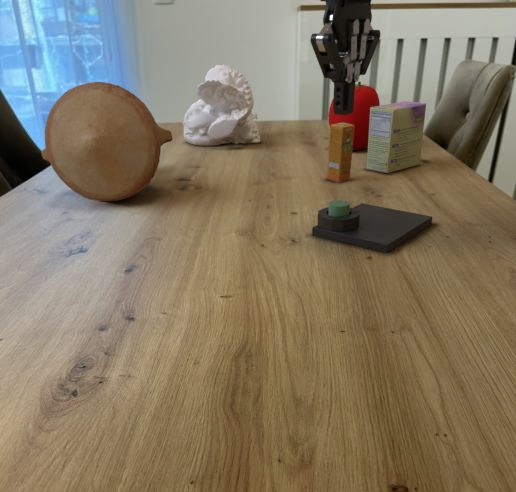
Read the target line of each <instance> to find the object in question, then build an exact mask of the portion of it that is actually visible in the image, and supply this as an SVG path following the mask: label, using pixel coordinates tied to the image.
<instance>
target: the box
mask: <svg viewBox="0 0 516 492" xmlns="http://www.w3.org/2000/svg"><path fill="white" fill-rule="evenodd" d="M426 110H427V102H420V101H419V102H418V101H399V102H394V103H393V102H392V103H388V104H380V106H375V107H370V122H369V139H368V146H367V156H366V170H370V171H374V172H378V173H385V174H390V173H393V172H397V171H401V170H404V169H408V168H411V167H416V166H420V163H421V155H422V146H423V138H424V137H423V136H424V129H425V119H426Z"/></svg>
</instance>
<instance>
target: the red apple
mask: <svg viewBox="0 0 516 492" xmlns="http://www.w3.org/2000/svg"><path fill="white" fill-rule="evenodd" d="M333 100H334V97H332V100H331V103H330V106H329V110H328V124H329V127H330V126H331V125H332V124H338V123H342V122H343V123H348V124H352V125H354V126H355V128H354V138H353V149H352V151H358V150H363V149H365V148H368V139H369V122H370V107H375V106H381V104H380V97H379V94H378V92H377V90H376V89H375V88H374V87H373V86H371V85H366V84H362V81H357V84H356V83H355V97H354V111H353V113H351V114H348V115H336V114H334V112H333V102H334V101H333Z"/></svg>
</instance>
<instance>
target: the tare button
mask: <svg viewBox="0 0 516 492" xmlns="http://www.w3.org/2000/svg"><path fill="white" fill-rule="evenodd" d="M328 207H329V209H328V215H329V216H334V217H344V216H349V213H350V208H351V203H350V201H348V200H344V199H343V200H342V199H335V200H331V201H329V202H328Z"/></svg>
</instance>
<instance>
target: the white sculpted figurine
mask: <svg viewBox="0 0 516 492" xmlns="http://www.w3.org/2000/svg"><path fill="white" fill-rule="evenodd" d="M195 93H196V95H197V96H198V97H199V98H200V99H197V100H196V101H195V102H194V103H192V104H191V105H190V106H189V107H188V109H187V111H186V112H185V114H184V117H183V121H182V122H181V124H182V126H183V138H184V140H185V141H186V142H187V143H188V144H191V145H194V146H199V147H210V146H211V147H213V146H214V147H215V146H220V145H225V144H230V143H232V144H235V145H238V144H259V143H261V142H262V141H261V136H260V135H261V133H260V129H259V127H258V125H257V123H256V122H255V121H254V120H255V119H256V120H258V119H259V118H258V114H257V112H255V113H254V114H253V113H252V109H253V108H254V104H255V103H254V101H255V100H254V96H253V91H252V87H251V84H250V83H249V80H248V79H247V78H246V77H245V75H244V74H243V73H242V72H240V71H239V70H237V69H233V68H232V67H231V66H230V65H229V64H227V65H226V64H225V63H222V64H217V65H214V67H211V68H210V69H209V70H208V71H207V72H206V75H205V77H204V81H203V82H200V83H199V84H198V85H196V89H195Z"/></svg>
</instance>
